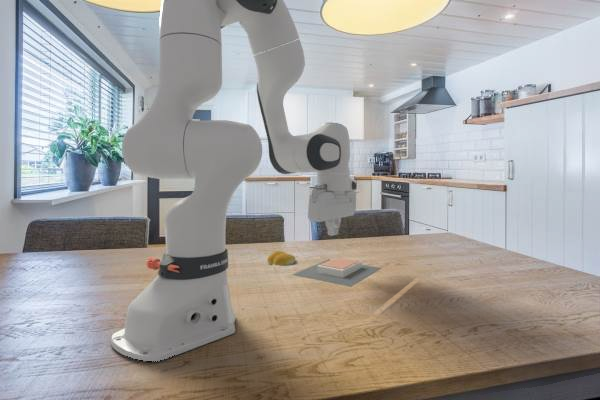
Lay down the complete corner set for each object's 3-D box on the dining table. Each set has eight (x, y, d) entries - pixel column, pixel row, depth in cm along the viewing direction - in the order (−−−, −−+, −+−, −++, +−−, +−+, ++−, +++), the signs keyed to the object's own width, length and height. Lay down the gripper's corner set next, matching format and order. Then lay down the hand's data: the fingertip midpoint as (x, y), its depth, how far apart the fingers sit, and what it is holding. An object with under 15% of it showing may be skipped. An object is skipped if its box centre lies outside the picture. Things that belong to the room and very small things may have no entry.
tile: (342, 269, 97) (362, 260, 106) (317, 265, 101) (338, 256, 111) (342, 277, 97) (362, 267, 107) (317, 272, 101) (338, 263, 111)
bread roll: (280, 269, 108) (280, 256, 108) (263, 263, 115) (263, 251, 115) (301, 264, 114) (301, 252, 113) (283, 259, 121) (283, 247, 120)
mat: (350, 289, 90) (350, 286, 90) (292, 277, 100) (292, 274, 100) (381, 270, 106) (381, 268, 106) (328, 261, 116) (328, 259, 116)
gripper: (323, 185, 88) (323, 241, 89) (360, 183, 105) (359, 231, 106) (301, 185, 92) (301, 239, 93) (340, 183, 108) (340, 229, 109)
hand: (333, 234), depth 99 cm, fingers closed
